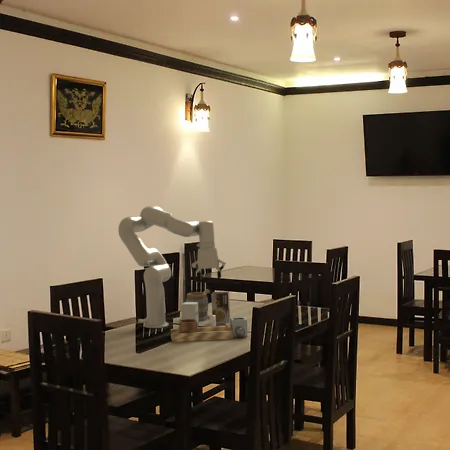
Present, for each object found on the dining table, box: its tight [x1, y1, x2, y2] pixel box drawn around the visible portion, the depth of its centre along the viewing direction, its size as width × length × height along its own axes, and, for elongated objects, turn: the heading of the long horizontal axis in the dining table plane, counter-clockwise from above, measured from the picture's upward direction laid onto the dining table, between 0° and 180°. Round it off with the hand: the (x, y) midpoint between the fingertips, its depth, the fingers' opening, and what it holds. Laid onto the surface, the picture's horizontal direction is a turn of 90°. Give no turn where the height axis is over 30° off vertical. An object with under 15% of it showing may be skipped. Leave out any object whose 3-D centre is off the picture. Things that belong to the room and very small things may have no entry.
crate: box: [178, 318, 199, 333], centre depth 327 cm, size 8×9×7 cm
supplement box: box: [180, 301, 200, 327], centre depth 355 cm, size 7×7×13 cm
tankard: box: [185, 288, 211, 322], centre depth 382 cm, size 20×13×15 cm, turn 148°
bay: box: [170, 323, 234, 343], centre depth 328 cm, size 28×13×5 cm, turn 97°
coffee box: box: [210, 291, 231, 325], centre depth 365 cm, size 9×6×16 cm
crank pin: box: [208, 314, 217, 327], centre depth 342 cm, size 3×3×8 cm
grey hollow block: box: [229, 316, 248, 339], centre depth 329 cm, size 7×10×8 cm
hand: (209, 279), depth 348 cm, fingers open, 9 cm apart
